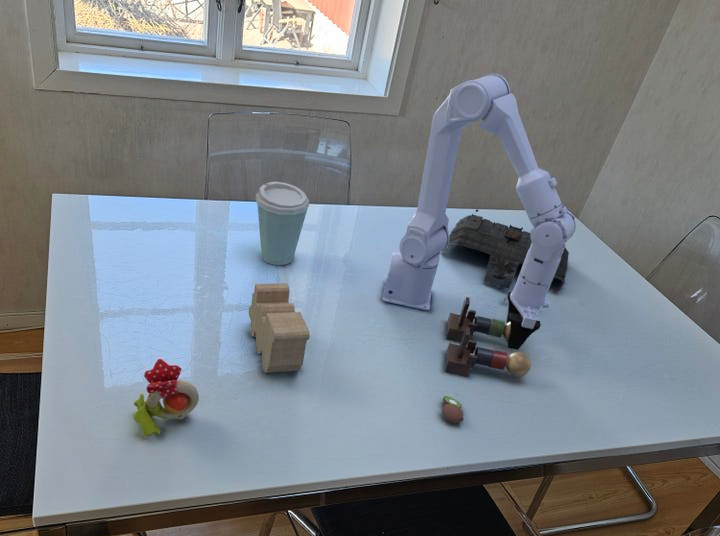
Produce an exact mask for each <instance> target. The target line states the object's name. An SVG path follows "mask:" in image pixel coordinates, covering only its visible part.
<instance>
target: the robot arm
mask: <svg viewBox="0 0 720 536" xmlns="http://www.w3.org/2000/svg"><path fill="white" fill-rule="evenodd" d="M480 120H482V122H481V123H480V124H479V125H478V128H480V129H483V130H484V131H487V132H490V133H493V134H495V135H497V137H498V138H499V140H500V143H501V144H502V147H503V148H504V150H505V152H506V154H507V156H508V158H509V160H510V162H511V165H512V166H513V168H514V170H515V172H516V174H517V176H518V180H517V183H516V186H515V190H516V193H517V194H518V197H519V199H520V201H521V204H522V206H523V209H524V210H525V212H526V215H527V218H528V219H529V222H530V224H531V225H532V227H533V228H531V229H530V232H529V233H530V237H531V241H532V244H531V246H530V249H529V250H528V252H527V255H526V258H525V261H524V263H523V264H522V266H521V269H520V271H519V274H518V277H517V280H516V283H515V285H514V288H513V289H512V291H509V292H507V293H506V294H507V295H506V297H507V298H508V299H507V303H508V304H507V307H508V308H507V316H506V322H505V325H506V324H507V323H508V322H510V333H509V337H508V342H507V348H508V349H512V350H516V351H519V350H520V349H521V347H523V345H524V344H525V343H526V341H527V339H529V337H530V336H531V335H533V333H535V332H537V331H539V329H540V328H541V326H542V324H541V321H540V320H537V317H538V316H539V314H540V313H541V311H542V309H543V308H544V309H549V307H550V300H549V299H547V298H546V297H547V295H548V292H549V290H550V287H551V285H552V283H553V280H554V279H555V278H554V275H555V273H556V270H557V268H558V265H559V263H560V260H561V256H562V254H563V251H564V248H566V243H568V242H569V240H571V238H572V237H573V236H574V234H575V232H576V228H577V227H576V221H575V218H576V217H575V216H574V214H573V213H572V212H571V211H569V210H568V209H567V206H566V205H565V206H563V203H562V201H561V198H560V196H559V193H558V191H557V189H556V186H557V185H558V182H557V179H556V178H555V177H551V174H550V173H549V171H547V170H544V169H542V168H540V167H539V166H538V162H537V161H536V160H537V159H536V157H535V154H534V152H533V149H532V145H531V144H530V141H529V138H528V135H527V132H526V129H525V127H524V124H523V121H522V119H521V116H520V113H519V107H518V103H517V99H516V96H515V95H514V93H512V92H511V88H510V85H509V83H508V81H507V79H506V78H505V77H504V76H502V75H501V74H498V73H488V74H486V75H484V76H482V77H480V78H476V79H470V80H466V81H464V82H462V83H460V84H459V85H456V86H455V87H454V88H451V89H450V92H449V95H448V96H447V98H445V100H444V101H443V102H442V104H441V105H440V106H438V109H436V111H435V112H434V114H433V117H432V121H431V127H430V133H429V138H428V145H427V151H426V156H425V162H424V167H423V173H422V179H421V183H420V184H421V185H420V191H419V197H418V202H417V206H416V207H417V209H416V212H415V213H414V215H413V217H412V219H411V220H410V221H409V223H408V224H407V227H406V232H405V233H404V235H403V237H402V238H401V240H400V242H399V252H392V255H391V258H390V262H389V263H390V264H389V267H388V272H387V276H386V277H385V278H384V281H383V282H384V283H383V287H384V290H383V295H382V301H383V302H385V303H389V304H395V305H399V306H403V307H404V306H405V307H409V308H413V309H417V310H421V311H425V312H427V311H430V308H431V297H432V288H433V285H434V281H435V277H436V274H437V270H438V266H439V263H440V255H441V252H444V251H443V250H446V249H447V248H448V247H449V246H448V244H449V240H450V232H449V221H450V219H449V217H448V215H447V214H446V212H447V207H448V202H449V198H450V192H451V188H452V182H453V177H454V172H455V168H456V167H455V166H456V163H457V157H458V153H459V147H460V143H461V138H462V137H461V136H462V133H463V129H465V128H467V127H468V126H469V125H472V123H475V122H477V121H480ZM447 246H448V247H447ZM446 247H447V248H446ZM445 248H446V249H445Z"/></svg>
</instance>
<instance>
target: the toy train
mask: <svg viewBox="0 0 720 536" xmlns="http://www.w3.org/2000/svg"><path fill="white" fill-rule="evenodd" d="M290 291H291V290H290V285H289V284H288V283H287V282H281V283H280V282H278V283H277V282H276V283H255V284H254V289H253V292H252V295H251V305H250V306H249V308H248V316H249V320H250V322H249V323H250V324H249V325H250V327H249V329H250V335H251V337H252V338H255V346H256V350H257V354H258V355H261V364H262V370H263V372H264V373H265V374H266V373H268V374H269V373H282V372H298V371H300V370H301V367H302V366H303V365H304V360H305V359H304V358H305V351H306V346H307V341H308V340H310V337H311V334H310V330H309V327H308V325H307V324H306V321H305V319H304V317H303V315H302V312H301V311H296V310H295V304H294V303H292V302H289V300H290Z"/></svg>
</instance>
